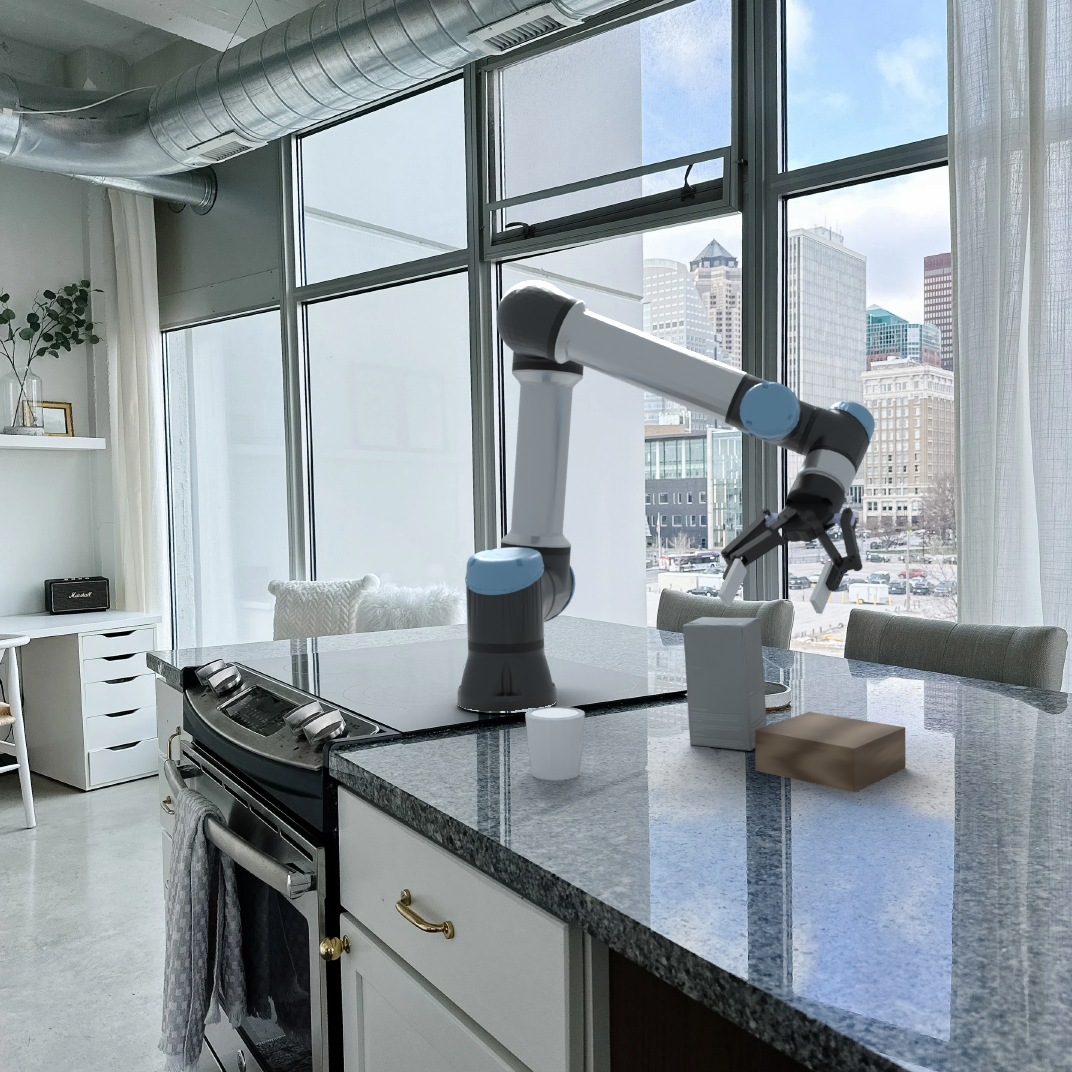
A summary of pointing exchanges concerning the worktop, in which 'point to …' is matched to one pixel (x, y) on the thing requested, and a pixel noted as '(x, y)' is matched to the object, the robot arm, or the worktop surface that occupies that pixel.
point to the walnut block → (830, 750)
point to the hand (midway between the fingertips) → (768, 603)
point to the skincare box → (724, 681)
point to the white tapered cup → (555, 742)
